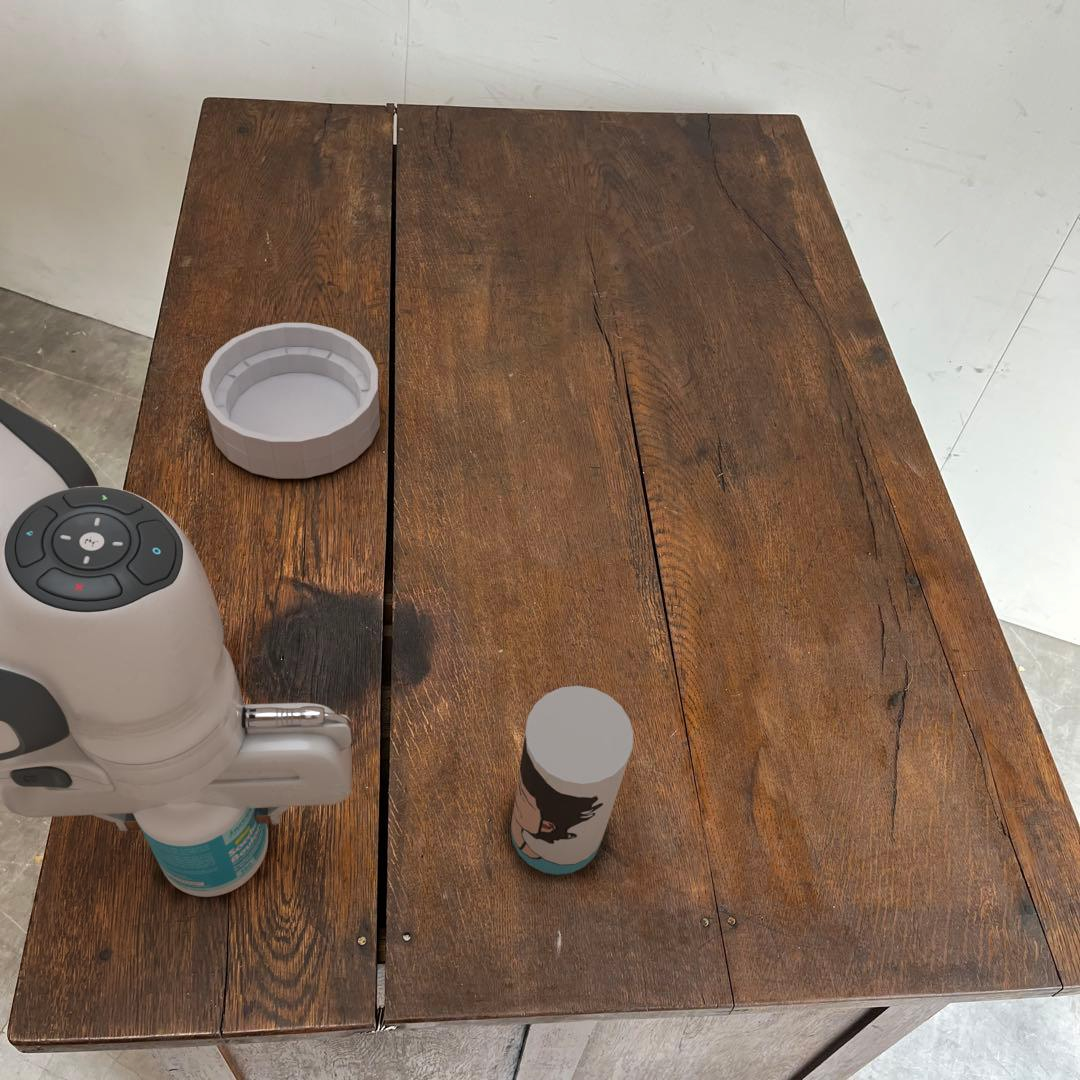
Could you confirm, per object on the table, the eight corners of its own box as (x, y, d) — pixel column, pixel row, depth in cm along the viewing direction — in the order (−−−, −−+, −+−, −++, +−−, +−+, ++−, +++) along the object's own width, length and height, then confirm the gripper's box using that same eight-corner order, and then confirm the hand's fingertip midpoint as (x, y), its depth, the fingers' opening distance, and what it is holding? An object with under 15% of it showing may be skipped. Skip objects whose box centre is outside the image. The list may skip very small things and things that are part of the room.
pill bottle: (264, 899, 71) (235, 819, 60) (152, 902, 70) (103, 821, 59) (275, 796, 75) (250, 705, 65) (171, 798, 74) (128, 706, 64)
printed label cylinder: (565, 770, 78) (588, 668, 67) (620, 840, 75) (655, 746, 64) (492, 818, 76) (504, 719, 64) (547, 893, 72) (569, 804, 61)
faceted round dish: (202, 484, 93) (191, 442, 89) (220, 365, 103) (211, 321, 98) (379, 482, 95) (377, 441, 90) (380, 365, 104) (378, 323, 100)
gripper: (352, 662, 61) (362, 767, 71) (-16, 672, 58) (52, 778, 69) (349, 760, 57) (360, 855, 68) (-45, 775, 54) (32, 871, 65)
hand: (202, 817), depth 68 cm, fingers closed on pill bottle, 7 cm apart
